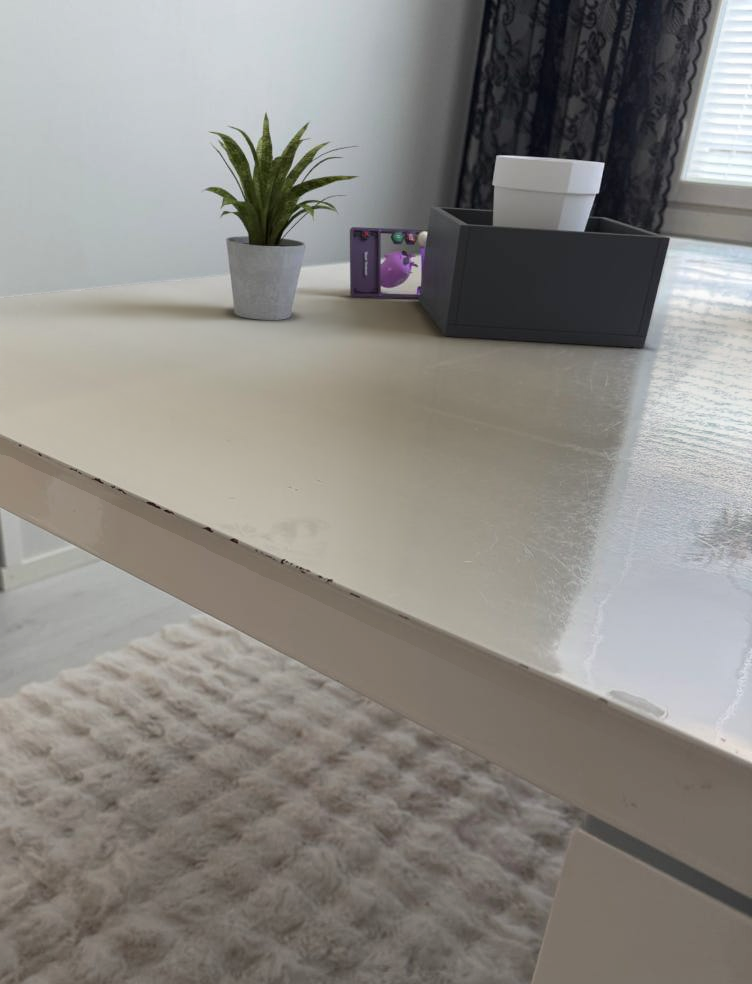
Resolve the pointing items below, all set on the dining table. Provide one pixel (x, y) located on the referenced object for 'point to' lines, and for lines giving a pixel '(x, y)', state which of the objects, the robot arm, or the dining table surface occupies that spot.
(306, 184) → the house plant
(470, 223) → the dark grey open box
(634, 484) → the dining table surface
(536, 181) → the white flower pot
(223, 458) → the dining table surface
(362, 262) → the purple cardboard box
